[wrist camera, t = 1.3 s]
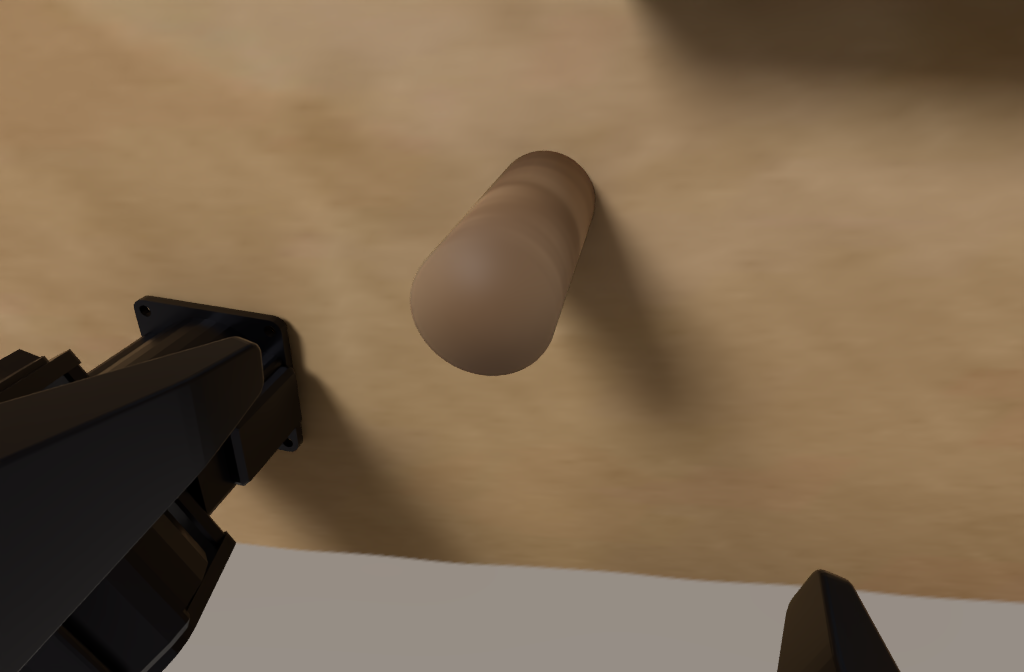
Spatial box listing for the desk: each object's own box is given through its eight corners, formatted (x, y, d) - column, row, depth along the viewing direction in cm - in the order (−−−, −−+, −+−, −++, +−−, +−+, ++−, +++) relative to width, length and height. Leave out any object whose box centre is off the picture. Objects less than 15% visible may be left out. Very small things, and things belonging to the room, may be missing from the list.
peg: (495, 241, 21) (412, 363, 14) (499, 145, 20) (408, 231, 13) (589, 254, 21) (549, 386, 14) (601, 156, 19) (563, 251, 12)
